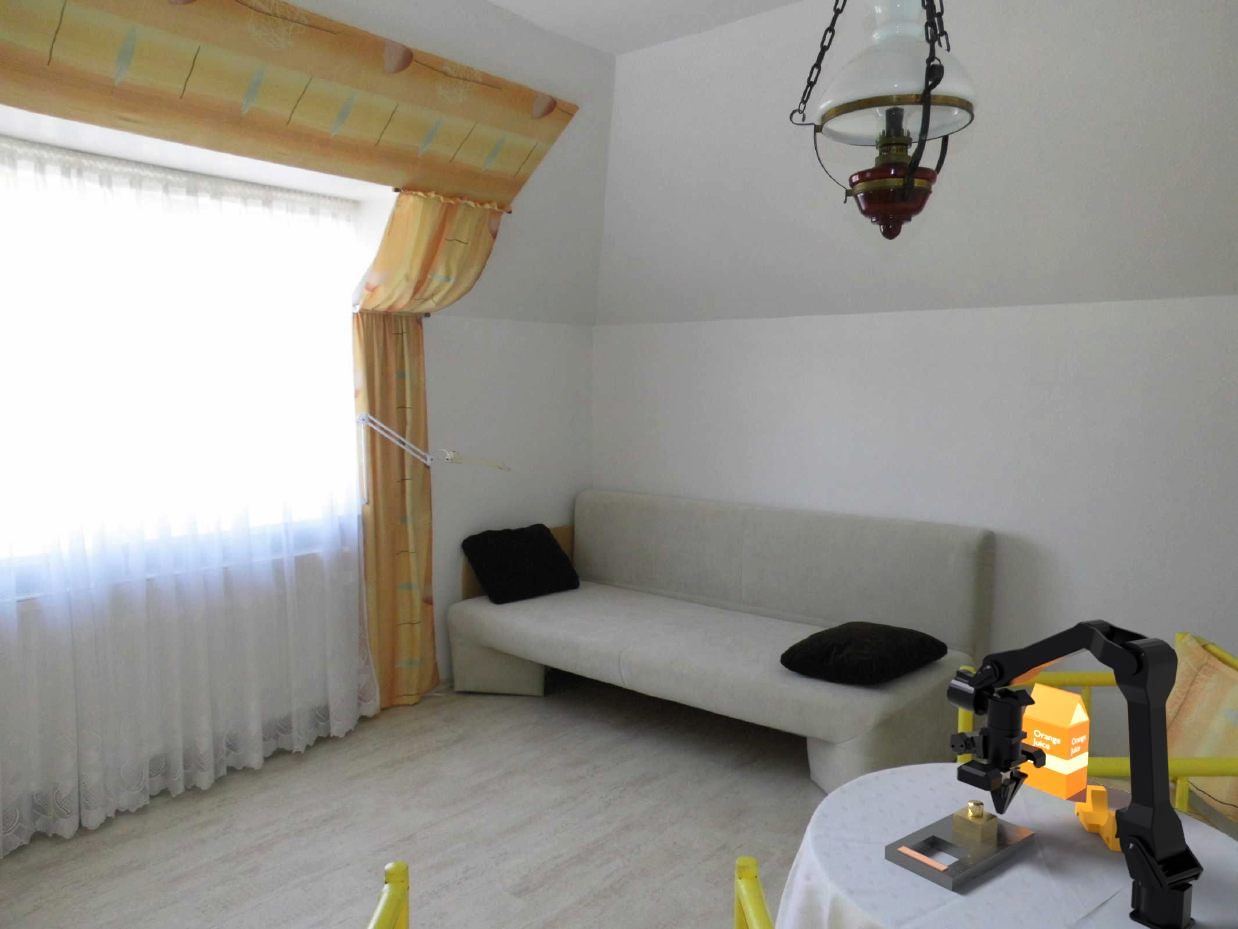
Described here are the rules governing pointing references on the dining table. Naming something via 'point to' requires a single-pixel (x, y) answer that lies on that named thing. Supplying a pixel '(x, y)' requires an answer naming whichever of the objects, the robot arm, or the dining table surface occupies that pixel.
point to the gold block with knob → (975, 821)
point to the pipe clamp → (1098, 816)
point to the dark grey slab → (957, 851)
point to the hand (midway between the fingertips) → (1000, 813)
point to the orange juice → (1057, 741)
